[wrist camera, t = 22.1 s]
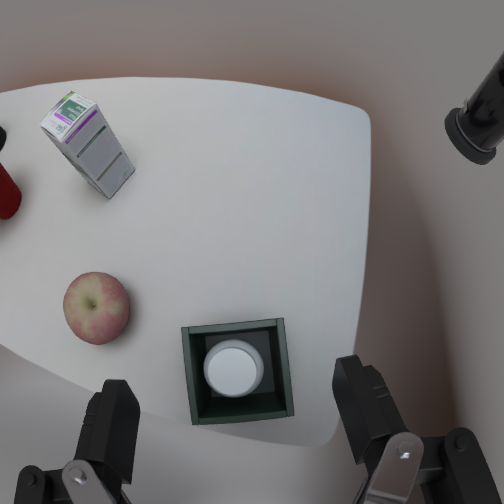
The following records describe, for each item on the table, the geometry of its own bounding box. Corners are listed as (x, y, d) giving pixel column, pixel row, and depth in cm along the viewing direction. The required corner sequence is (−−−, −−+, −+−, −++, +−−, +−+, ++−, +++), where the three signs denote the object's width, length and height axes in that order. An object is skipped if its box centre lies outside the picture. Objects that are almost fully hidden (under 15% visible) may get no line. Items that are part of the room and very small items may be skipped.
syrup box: (136, 169, 40) (98, 99, 26) (109, 201, 38) (58, 140, 24) (112, 153, 40) (72, 87, 27) (85, 183, 39) (36, 124, 25)
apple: (130, 353, 33) (100, 355, 25) (79, 332, 33) (43, 327, 25) (148, 290, 35) (123, 276, 27) (96, 273, 35) (64, 256, 28)
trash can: (272, 324, 34) (283, 317, 24) (280, 394, 32) (294, 416, 22) (200, 331, 34) (180, 327, 24) (207, 401, 31) (192, 425, 21)
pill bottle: (259, 338, 33) (264, 336, 24) (262, 385, 32) (268, 401, 22) (210, 340, 33) (196, 339, 24) (213, 387, 31) (200, 404, 22)
